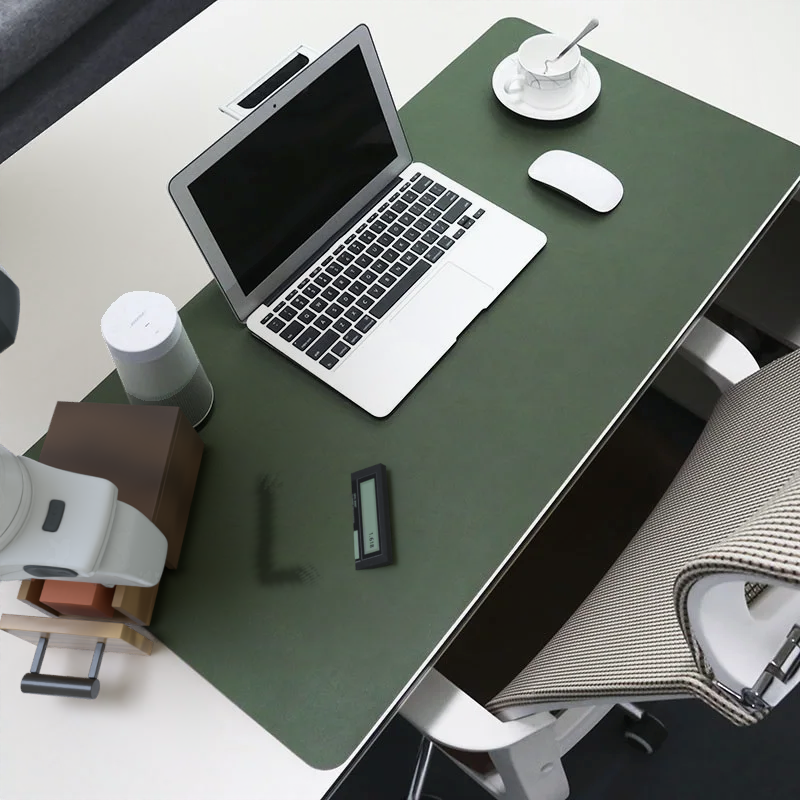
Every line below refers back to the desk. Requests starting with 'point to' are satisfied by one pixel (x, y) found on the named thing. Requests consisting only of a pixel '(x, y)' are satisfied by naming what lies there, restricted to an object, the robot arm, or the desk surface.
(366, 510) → the calculator
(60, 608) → the block
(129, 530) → the robot arm
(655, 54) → the desk surface
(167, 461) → the cabinet
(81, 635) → the drawer
